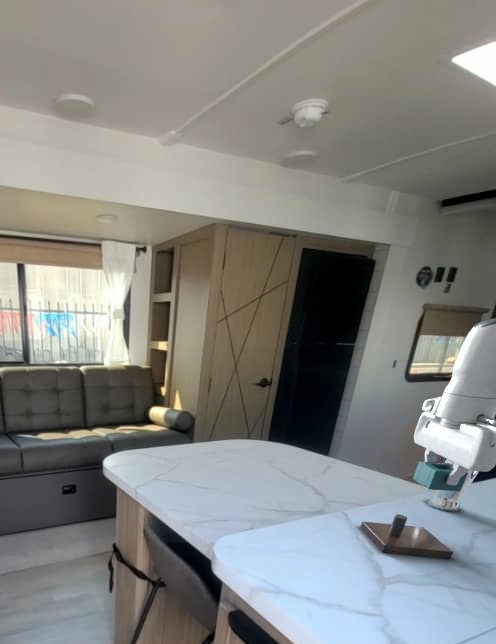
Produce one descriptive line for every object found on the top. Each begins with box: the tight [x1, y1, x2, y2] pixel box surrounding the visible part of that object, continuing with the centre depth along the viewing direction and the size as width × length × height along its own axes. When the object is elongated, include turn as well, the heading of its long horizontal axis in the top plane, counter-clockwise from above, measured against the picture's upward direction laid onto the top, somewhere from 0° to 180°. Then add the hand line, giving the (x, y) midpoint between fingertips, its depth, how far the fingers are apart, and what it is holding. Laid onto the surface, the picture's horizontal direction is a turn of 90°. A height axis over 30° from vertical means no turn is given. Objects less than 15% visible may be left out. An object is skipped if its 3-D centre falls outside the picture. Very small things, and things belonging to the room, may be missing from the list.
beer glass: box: [427, 457, 480, 512], centre depth 95 cm, size 7×7×15 cm
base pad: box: [359, 513, 454, 560], centre depth 79 cm, size 12×10×6 cm
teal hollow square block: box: [412, 460, 468, 491], centre depth 83 cm, size 6×6×4 cm
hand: (438, 477), depth 84 cm, fingers closed on teal hollow square block, 6 cm apart
